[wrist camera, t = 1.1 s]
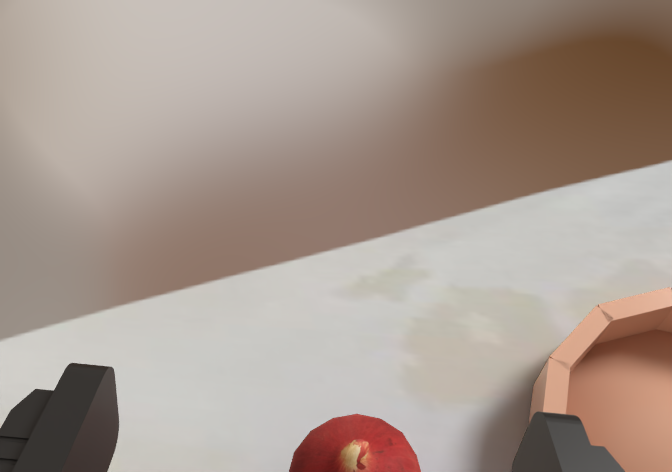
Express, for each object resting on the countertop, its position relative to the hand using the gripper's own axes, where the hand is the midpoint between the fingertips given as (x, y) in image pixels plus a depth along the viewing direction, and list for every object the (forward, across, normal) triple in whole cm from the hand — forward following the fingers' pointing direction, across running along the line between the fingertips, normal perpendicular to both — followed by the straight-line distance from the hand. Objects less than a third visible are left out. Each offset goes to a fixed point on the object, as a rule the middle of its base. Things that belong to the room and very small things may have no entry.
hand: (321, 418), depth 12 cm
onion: (+10, -3, +18) cm, 21 cm away
